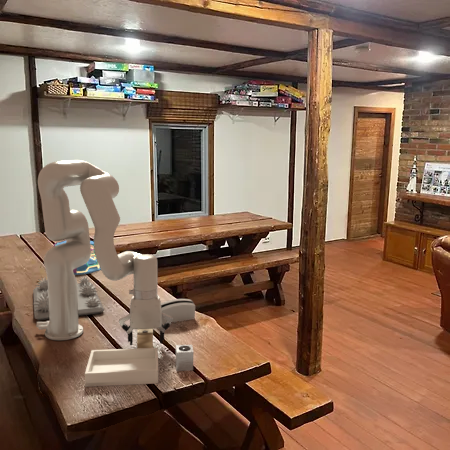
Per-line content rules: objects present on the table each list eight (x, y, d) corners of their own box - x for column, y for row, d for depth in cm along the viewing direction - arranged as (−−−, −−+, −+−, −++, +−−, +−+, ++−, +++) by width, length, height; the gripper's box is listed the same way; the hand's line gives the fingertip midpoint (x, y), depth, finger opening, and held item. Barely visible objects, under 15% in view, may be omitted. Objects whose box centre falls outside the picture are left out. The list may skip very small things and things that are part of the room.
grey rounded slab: (189, 314, 180) (193, 294, 175) (194, 321, 176) (198, 301, 172) (149, 320, 172) (152, 300, 167) (153, 329, 168) (157, 308, 164)
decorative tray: (104, 315, 176) (104, 291, 175) (32, 324, 166) (31, 298, 164) (92, 287, 208) (92, 266, 206) (31, 293, 198) (30, 271, 196)
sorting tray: (85, 386, 126) (84, 373, 125) (91, 362, 139) (91, 350, 138) (158, 383, 129) (158, 370, 128) (157, 359, 142) (157, 347, 142)
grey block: (176, 371, 136) (176, 352, 135) (175, 363, 141) (175, 344, 140) (193, 370, 137) (193, 351, 136) (191, 362, 142) (192, 344, 140)
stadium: (49, 259, 250) (48, 234, 248) (93, 255, 261) (93, 231, 258) (56, 277, 220) (55, 248, 217) (106, 272, 231) (106, 245, 228)
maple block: (137, 352, 147) (137, 335, 145) (137, 345, 151) (137, 328, 150) (152, 352, 147) (152, 334, 146) (152, 345, 152) (152, 328, 151)
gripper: (117, 297, 141) (118, 349, 144) (173, 296, 143) (173, 346, 147) (119, 290, 148) (120, 339, 151) (172, 288, 151) (172, 336, 154)
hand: (146, 342), depth 149 cm, fingers open, 9 cm apart
